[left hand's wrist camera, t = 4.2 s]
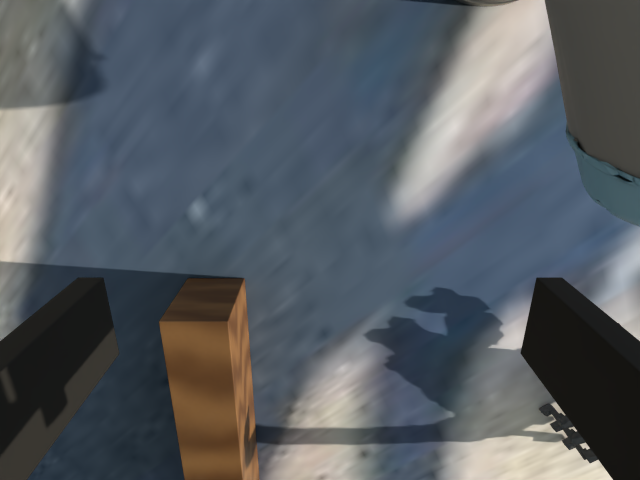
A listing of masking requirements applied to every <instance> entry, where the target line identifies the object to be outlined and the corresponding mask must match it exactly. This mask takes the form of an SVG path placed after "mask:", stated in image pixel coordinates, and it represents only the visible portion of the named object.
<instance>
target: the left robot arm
mask: <svg viewBox="0 0 640 480" xmlns="http://www.w3.org/2000/svg"><path fill="white" fill-rule="evenodd" d="M455 1H457V2H460V3H464V4H467V5H473V6H484V7H487V6H498V5H504V4H508V3H512V2H515V1H517V0H455ZM545 4H546V9H547V14H548V19H549V24H550V29H551V35H552V40H553V45H554V50H555V55H556V61H557V67H558V72H559V78H560V84H561V90H562V95H563V101H564V107H565V112H566V118H567V123H566V137H567V139H568V142H569V144H570V146H571V147H572V149H573V150H574V151H575V155H576V159H577V163H578V167H579V171H580V175H581V179H582V182H583V185H584V187H585V189H586V191H587V193H588V194H589V195H590V197H591V198H592V199H593V200H594V201H595V202H596V203H598V204H599V205H601V206H603V207H604V208H606V209H607V210H608V211H609V212H610V213H611V214H612V215H614V216H616V217H618V218H620V219H622V220H624V221H626V222H629V223H631V224H634V225H637V226H640V0H545ZM118 355H119V350H118V345H117V340H116V335H115V331H114V326H113V321H112V316H111V312H110V307H109V302H108V297H107V292H106V288H105V283H104V278H77V279H76V280H75V281H73V282H72V283H71V284H70V285H69V286H67V287H66V288H65V289H64V290H62V291H61V292H60V293H59V294H58V295H56V296H55V297H54V298H53V299H51V300H50V301H49V302H48V303H47V304H45V305H44V306H43V307H42V308H40V309H39V310H38V311H37V312H36V313H34V314H33V315H32V316H31V317H29V318H28V319H27V320H26V321H25V322H23V323H22V324H21V325H20V326H18V327H17V328H16V329H15V330H14V331H12V332H11V333H10V334H9V335H7V336H6V337H5V338H4V339H2V340H1V341H0V480H27V479H28V477H29V476H30V475H31V473H32V472H33V471H34V469H35V468H36V466H37V465H38V464H39V462H40V461H41V460H42V458H43V457H44V456H45V454H46V453H47V451H48V450H49V449H50V447H51V446H52V445H53V443H54V442H55V441H56V439H57V438H58V436H59V435H60V434H61V432H62V431H63V430H64V428H65V427H66V426H67V424H68V423H69V421H70V420H71V419H72V417H73V416H74V415H75V413H76V412H77V411H78V409H79V408H80V406H81V405H82V404H83V402H84V401H85V400H86V398H87V397H88V396H89V394H90V393H91V391H92V390H93V389H94V387H95V386H96V385H97V383H98V382H99V381H100V379H101V378H102V376H103V375H104V374H105V372H106V371H107V370H108V368H109V367H110V366H111V364H112V363H113V361H114V360H115V359H116V357H117V356H118ZM521 355H522V356H523V357H524V359H525V360H526V361H527V363H528V364H529V366H530V367H531V368H532V370H533V371H534V372H535V374H536V375H537V376H538V378H539V379H540V381H541V382H542V383H543V385H544V386H545V387H546V389H547V390H548V391H549V393H550V394H551V396H552V397H553V398H554V400H555V401H556V402H557V404H558V405H559V406H560V408H561V409H562V411H563V412H564V413H565V415H566V416H567V417H568V419H569V420H570V421H571V423H572V424H573V426H574V427H575V428H576V430H577V431H578V432H579V434H580V435H581V436H582V438H583V439H584V441H585V442H586V443H587V445H588V446H589V447H590V449H591V450H592V451H593V453H594V454H595V456H596V457H597V458H598V460H599V461H600V462H601V464H602V465H603V466H604V468H605V469H606V471H607V472H608V473H609V475H610V476H611V477H612V479H613V480H640V341H639V340H638V339H636V338H635V337H634V336H633V335H631V334H630V333H629V332H628V331H626V330H625V329H624V328H623V327H622V326H620V325H619V324H618V323H617V322H615V321H614V320H613V319H612V318H611V317H609V316H608V315H607V314H606V313H604V312H603V311H602V310H601V309H600V308H598V307H597V306H596V305H595V304H593V303H592V302H591V301H590V300H589V299H587V298H586V297H585V296H584V295H582V294H581V293H580V292H579V291H578V290H576V289H575V288H574V287H573V286H571V285H570V284H569V283H568V282H567V281H565V280H564V279H563V278H536V283H535V288H534V292H533V297H532V302H531V307H530V312H529V316H528V321H527V326H526V331H525V335H524V340H523V345H522V350H521Z"/></svg>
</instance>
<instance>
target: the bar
mask: <svg viewBox="0 0 640 480" xmlns="http://www.w3.org/2000/svg"><path fill="white" fill-rule="evenodd" d="M159 326H160V332H161V338H162V344H163V350H164V356H165V362H166V369H167V375H168V381H169V387H170V393H171V399H172V405H173V412H174V418H175V424H176V430H177V436H178V442H179V448H180V454H181V461H182V467H183V473H184V479H185V480H259V469H258V455H257V441H256V428H255V414H254V400H253V387H252V373H251V359H250V346H249V332H248V318H247V305H246V291H245V279H244V278H188V279H187V280H186V282H185V283H184V285H183V286H182V288H181V289H180V291H179V292H178V294H177V295H176V297H175V298H174V300H173V301H172V303H171V304H170V306H169V307H168V309H167V310H166V312H165V313H164V315H163V316H162V318H161V319H160V321H159Z"/></svg>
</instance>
